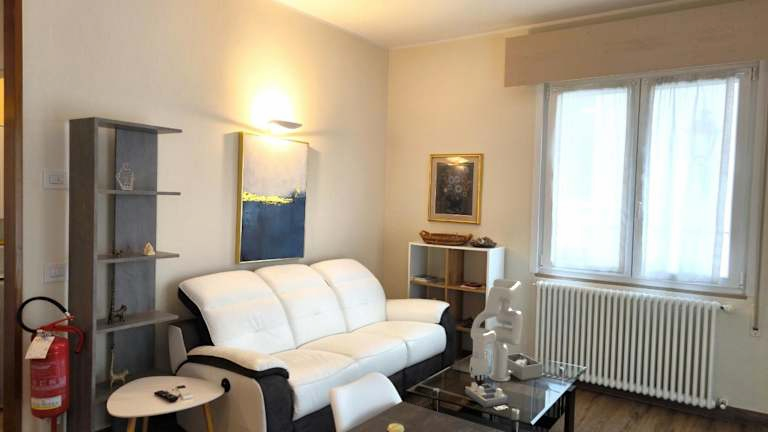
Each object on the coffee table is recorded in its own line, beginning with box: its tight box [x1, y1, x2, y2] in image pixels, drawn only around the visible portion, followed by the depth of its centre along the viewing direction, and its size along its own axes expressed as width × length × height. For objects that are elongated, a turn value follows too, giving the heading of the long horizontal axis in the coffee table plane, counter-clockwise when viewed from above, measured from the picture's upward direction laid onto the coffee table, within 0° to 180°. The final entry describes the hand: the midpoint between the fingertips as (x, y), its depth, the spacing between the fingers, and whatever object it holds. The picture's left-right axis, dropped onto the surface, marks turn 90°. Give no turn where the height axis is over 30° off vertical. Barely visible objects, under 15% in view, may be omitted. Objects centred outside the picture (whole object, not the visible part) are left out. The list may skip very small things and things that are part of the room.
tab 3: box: [494, 387, 504, 398], centre depth 290 cm, size 4×4×5 cm
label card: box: [493, 404, 509, 411], centre depth 281 cm, size 7×4×1 cm, turn 113°
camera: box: [515, 352, 528, 366], centre depth 333 cm, size 15×8×10 cm, turn 148°
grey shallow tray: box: [464, 382, 510, 408], centre depth 294 cm, size 15×20×4 cm
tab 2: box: [476, 386, 486, 395], centre depth 292 cm, size 4×4×5 cm
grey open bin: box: [508, 352, 543, 381], centre depth 333 cm, size 15×22×8 cm
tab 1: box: [470, 381, 478, 391], centre depth 297 cm, size 4×4×5 cm
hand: (478, 386), depth 299 cm, fingers closed
